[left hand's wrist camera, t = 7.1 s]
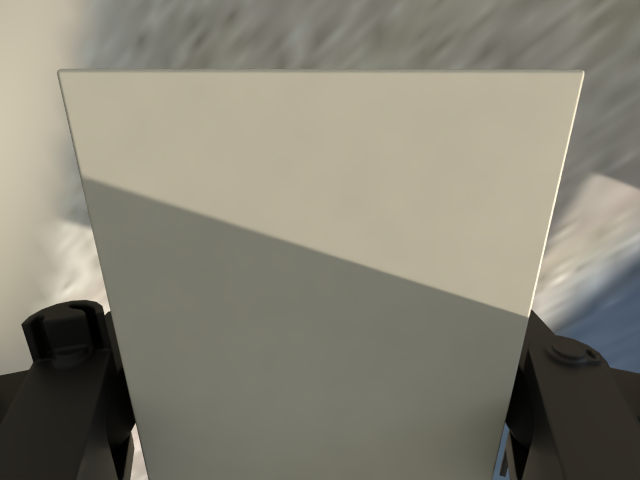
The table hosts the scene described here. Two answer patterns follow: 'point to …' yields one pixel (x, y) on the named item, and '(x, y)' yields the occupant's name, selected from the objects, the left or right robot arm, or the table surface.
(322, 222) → the beam
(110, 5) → the table surface
